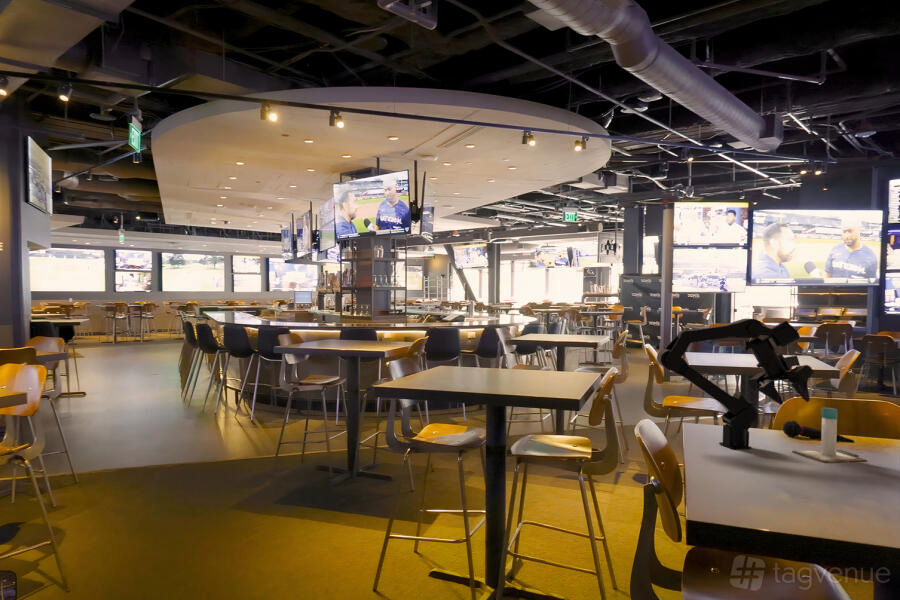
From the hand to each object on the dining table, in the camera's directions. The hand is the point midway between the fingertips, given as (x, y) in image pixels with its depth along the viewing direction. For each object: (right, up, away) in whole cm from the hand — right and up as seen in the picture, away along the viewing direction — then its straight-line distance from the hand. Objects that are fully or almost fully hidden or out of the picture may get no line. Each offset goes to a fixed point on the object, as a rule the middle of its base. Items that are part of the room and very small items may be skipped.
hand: (794, 402), depth 168 cm
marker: (+6, -14, -7) cm, 16 cm away
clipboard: (+6, -14, -7) cm, 17 cm away
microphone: (+17, -15, +16) cm, 28 cm away
